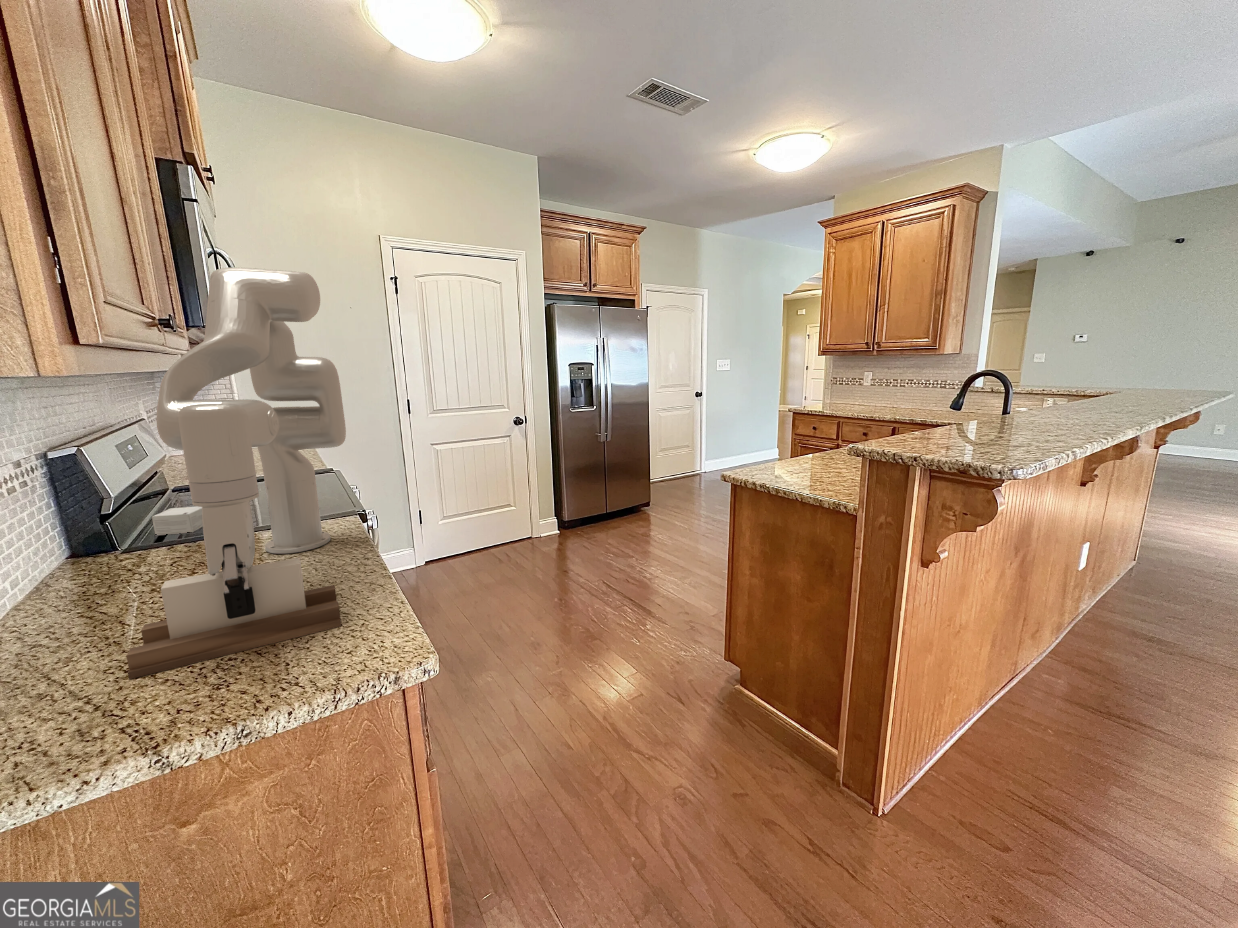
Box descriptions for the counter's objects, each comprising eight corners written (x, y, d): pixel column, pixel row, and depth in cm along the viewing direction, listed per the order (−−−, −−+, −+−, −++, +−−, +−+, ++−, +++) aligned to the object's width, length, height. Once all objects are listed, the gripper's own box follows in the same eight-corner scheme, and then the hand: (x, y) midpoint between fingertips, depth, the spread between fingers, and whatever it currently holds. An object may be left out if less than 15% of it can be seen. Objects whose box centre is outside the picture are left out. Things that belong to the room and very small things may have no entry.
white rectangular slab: (176, 639, 70) (165, 581, 68) (306, 609, 79) (299, 557, 77) (172, 648, 68) (160, 588, 66) (307, 616, 76) (300, 563, 75)
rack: (149, 640, 72) (145, 622, 71) (336, 599, 85) (334, 583, 84) (129, 679, 63) (124, 658, 62) (341, 625, 76) (339, 608, 75)
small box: (173, 526, 126) (169, 507, 125) (209, 524, 128) (206, 505, 127) (154, 536, 118) (150, 516, 118) (192, 533, 121) (189, 513, 120)
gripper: (200, 482, 74) (218, 592, 78) (179, 507, 60) (202, 640, 64) (260, 476, 79) (275, 580, 82) (254, 499, 64) (272, 623, 68)
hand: (243, 605), depth 73 cm, fingers open, 5 cm apart
